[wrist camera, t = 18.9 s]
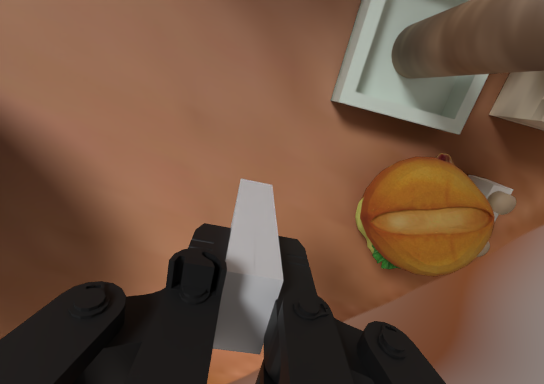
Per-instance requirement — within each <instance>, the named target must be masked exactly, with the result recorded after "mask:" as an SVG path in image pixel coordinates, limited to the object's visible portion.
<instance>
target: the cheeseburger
mask: <svg viewBox="0 0 544 384" xmlns="http://www.w3.org/2000/svg"><path fill="white" fill-rule="evenodd" d="M355 219H356V224H357V227H358V230H359V231H360V232H361V233H362V234H363V236H364V237H365V238H366V239H367V247H368V248H369V249H370V251H371V252H372V253H373V255H372V256H373V257H374V258H375V259H376V260H377V263H379V262H381V261H382V265H381V268H383V269H384V268H386V269H393V268H400V269H404V270H406V271H409V272H411V273H414V274H420V275H426V276H439V275H445V274H451V273H453V272H455V271H457V270H459V269H461V268H463V267H465V266H467V265H468V264H469V263H470V262H471V261H472V260H474V259H475V258H476V257H477V256H478V254H479V253H480V252H481V251H482V250H483V249H484V247H485V245H486V244H487V242H488V240H489V238H490V236H491V234H492V230H493V227H494V219H495V216H494V212H493V210H492V207H491V205H490V204H489V202H488V200H487V198H486V197H485V195H484V194H483V193H482V192H481V191H480V190H479V189H478V187H477V186H476V185H475V184H474V182H473V181H472V180H471V179H470V178H469V177H468V176H467V175H466V174H465V173H464V172H463V171H462V170H461V169H459V168H458V167H456V166H455V165H454V164H453V162H452V159H451V156H449V155H448V154H439V155H438V156H437V157H436V158H433V157H414V158H410V159H406V160H403V161H399V162H397V163H395V164H393V165H391V166H389V167H388V168H386V169H384V170H383V171H382V172H381V173H379V174H378V175H377V176H376V177H375V178H374V180H373V181H372V182H371V184H370V185H369V186H368V187H367V188H366V191H365V193H364V195H363V198H362V199H361V200H360V201H359V204H358V207H357V211H356V215H355Z"/></svg>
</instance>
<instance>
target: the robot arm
mask: <svg viewBox="0 0 544 384" xmlns="http://www.w3.org/2000/svg"><path fill="white" fill-rule="evenodd" d="M263 343H264V359H263V362H262V365H261V368H260V371H259V375H258V378H257V380H256V383H255V384H446V383H445V382H444V381H443V379H442V378H441V377H440V376H439V374H438V373H437V372H436V371H435V369H434V368H433V367H432V365H431V364H430V363H429V362H428V361H427V359H426V358H425V357H424V355H422V353H421V352H420V351H419V349H418V348H417V347H416V345H415V344H414V343H413V342H412V341H411V340H410V339H409V338H408V337H407V336H406V335H405V334H404V333H403V332H402V331H400V330H399V329H397V328H396V327H394V326H392V325H390V324H387V323H385V322H378V321H374V322H371V323H368V325H367V326H366V328H365V329H364V331H361V330H359V329H357V328H354V327H352V326H350V325H347V324H345V323H343V322H341V321H339V320H337V319H335V318H334V317H333V314H332V312H331V310H330V308H329V306H328V304H327V303H326V302H325V301H324V300H323V299H322V298H320V297H318V296H317V293H316V289H315V285H314V281H313V278H312V274H311V270H310V267H309V262H308V259H307V255H306V251H305V248H304V247H303V246H302V244H301V243H300V242H299V241H298V240H297V239H292V238H287V237H282V236H278V230H277V222H276V213H275V205H274V196H273V188H272V185H269V184H265V183H260V182H255V181H250V180H245V179H241V181H240V186H239V190H238V195H237V200H236V205H235V209H234V214H233V219H232V224H231V228H227V227H222V226H216V225H211V224H206V223H204V224H203V225H201V226H200V227H199V228H197V229H196V230H195V233H194V235H193V237H192V240H191V242H190V245H189V248H188V249H184V250H181V251H179V252H177V253H175V254H174V255H173V256H172V257H171V259H170V260H169V265H168V274H167V283H166V288H164V289H162V290H160V291H158V292H155V293H151V294H146V295H138V296H128V297H126V295H125V293H124V292H123V290H122V288H120V287H118V286H117V285H115V284H113V283H108V282H102V281H100V282H88V283H85V284H81V285H78V286H75V287H73V288H71V289H69V290H67V291H66V292H64V293H62V294H61V295H59V296H58V297H57V298H55V299H54V300H53V301H51V302H50V303H49V304H47V305H46V306H45V307H43V308H42V309H41V310H39V311H38V312H37V313H35V314H34V315H33V316H31V317H30V318H29V319H27V320H26V321H25V322H23V323H22V324H21V325H19V326H18V327H17V328H15V329H14V330H13V331H11V332H10V333H9V334H7V335H6V336H5V337H3V338H2V339H1V340H0V384H207V379H208V373H209V367H210V361H211V355H212V349H221V350H229V351H237V352H245V353H253V354H260V352H261V349H262V346H263Z"/></svg>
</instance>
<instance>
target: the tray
mask: <svg viewBox="0 0 544 384" xmlns="http://www.w3.org/2000/svg"><path fill="white" fill-rule="evenodd" d="M467 1H470V0H361V4H360V7H359V10H358V13H357V17H356V20H355V23H354V26H353V30H352V33H351V36H350V39H349V43H348V46H347V49H346V52H345V56H344V59H343V62H342V65H341V69H340V72H339V75H338V78H337V82H336V85H335V88H334V91H333V95H332V98H331V101H334V102H338V103H342V104H345V105H349V106H353V107H356V108H360V109H364V110H368V111H371V112H375V113H379V114H382V115H386V116H390V117H393V118H397V119H401V120H405V121H408V122H412V123H416V124H419V125H423V126H427V127H431V128H434V129H438V130H442V131H446V132H451V133H455V134H459V135H460V133H461V131H462V129H463V127H464V125H465V123H466V121H467V118H468V116H469V114H470V112H471V110H472V108H473V106H474V104H475V102H476V100H477V98H478V96H479V94H480V92H481V89H482V87H483V85H484V83H485V81H486V79H487V77H488V75H489V74H480V75H464V76H447V77H431V78H415V79H409V78H405V77H403V76H401V75H400V74H398V73H397V71H396V70H395V68H394V66H393V63H392V57H391V54H392V48H393V44H394V42H395V40H396V38H397V37H398V35H399V34H400V33H401V32H402V31H403V30H404V29H405V28H406V27H408V26H410V25H412V24H414V23H416V22H419V21H421V20H424V19H426V18H429V17H431V16H433V15H436V14H438V13H441V12H443V11H445V10H448V9H450V8H453V7H455V6H458V5H460V4H462V3H465V2H467Z"/></svg>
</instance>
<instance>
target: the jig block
mask: <svg viewBox="0 0 544 384" xmlns="http://www.w3.org/2000/svg"><path fill="white" fill-rule="evenodd" d="M489 115H491V116H495V117H498V118H502V119H505V120H509V121H512V122H516V123H519V124H523V125H526V126H530V127H533V128H537V129H540V130H544V71H529V72H513V73H510V74H509V76H508V78H507V80H506V82H505V84H504V86H503V88H502V90H501V92H500V94H499V96H498V98H497V100H496V102H495V104H494V106H493V108H492V110H491V111H490V113H489Z"/></svg>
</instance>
